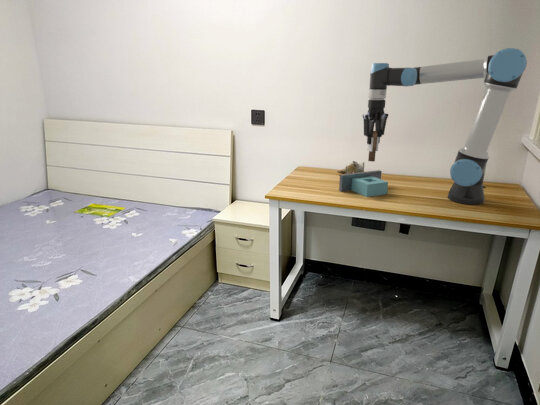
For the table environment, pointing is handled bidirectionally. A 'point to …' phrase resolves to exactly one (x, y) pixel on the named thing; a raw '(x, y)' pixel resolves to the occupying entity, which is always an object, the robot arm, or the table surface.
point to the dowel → (372, 154)
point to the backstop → (346, 179)
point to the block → (369, 186)
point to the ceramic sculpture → (353, 168)
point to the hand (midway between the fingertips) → (372, 150)
